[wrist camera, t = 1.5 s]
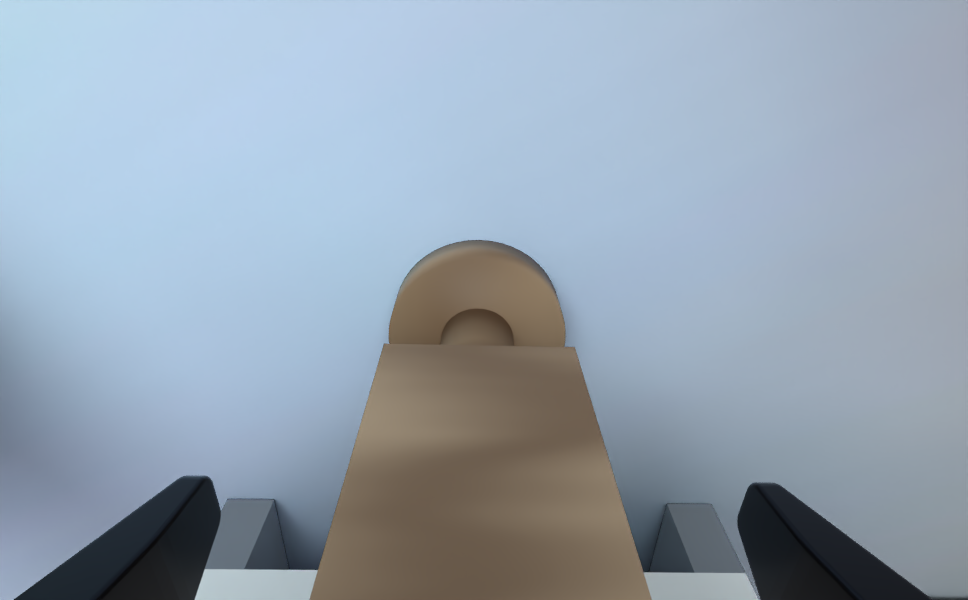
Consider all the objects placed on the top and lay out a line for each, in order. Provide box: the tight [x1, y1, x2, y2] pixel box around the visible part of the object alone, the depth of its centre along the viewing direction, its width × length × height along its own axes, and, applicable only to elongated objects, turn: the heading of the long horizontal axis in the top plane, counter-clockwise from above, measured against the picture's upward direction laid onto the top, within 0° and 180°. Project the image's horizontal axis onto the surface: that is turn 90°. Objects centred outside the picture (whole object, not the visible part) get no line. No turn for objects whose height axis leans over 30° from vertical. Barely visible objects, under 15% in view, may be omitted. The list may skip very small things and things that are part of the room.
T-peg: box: [309, 240, 652, 600], centre depth 10 cm, size 4×4×9 cm
